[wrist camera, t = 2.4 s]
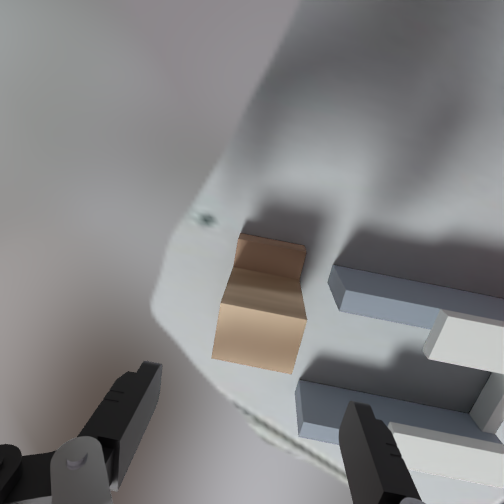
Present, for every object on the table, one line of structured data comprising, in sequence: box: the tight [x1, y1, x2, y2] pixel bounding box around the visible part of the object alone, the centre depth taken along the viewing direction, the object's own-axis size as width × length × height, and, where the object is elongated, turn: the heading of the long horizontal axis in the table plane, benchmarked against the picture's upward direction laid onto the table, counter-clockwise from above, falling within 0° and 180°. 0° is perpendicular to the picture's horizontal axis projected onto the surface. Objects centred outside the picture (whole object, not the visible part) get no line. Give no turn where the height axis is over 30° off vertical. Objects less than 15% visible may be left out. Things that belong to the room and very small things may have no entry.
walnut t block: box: [212, 233, 307, 374], centre depth 19 cm, size 8×4×6 cm, turn 170°
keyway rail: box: [295, 265, 504, 489], centre depth 21 cm, size 12×15×5 cm
